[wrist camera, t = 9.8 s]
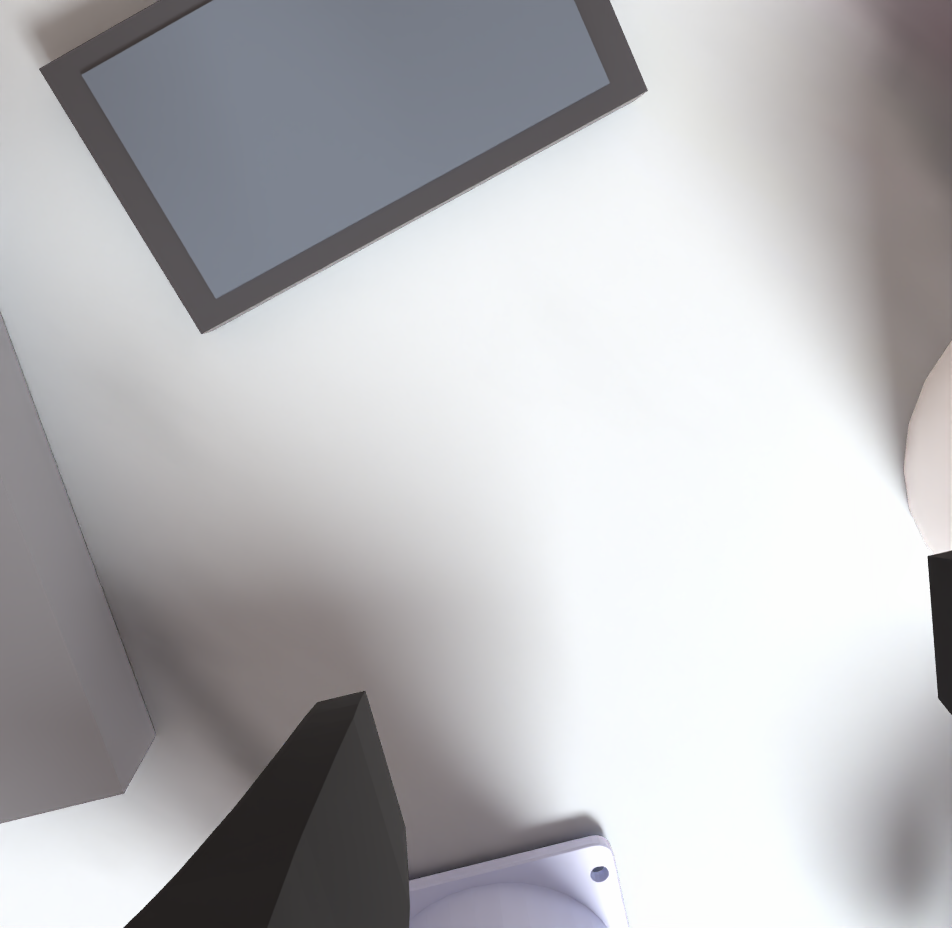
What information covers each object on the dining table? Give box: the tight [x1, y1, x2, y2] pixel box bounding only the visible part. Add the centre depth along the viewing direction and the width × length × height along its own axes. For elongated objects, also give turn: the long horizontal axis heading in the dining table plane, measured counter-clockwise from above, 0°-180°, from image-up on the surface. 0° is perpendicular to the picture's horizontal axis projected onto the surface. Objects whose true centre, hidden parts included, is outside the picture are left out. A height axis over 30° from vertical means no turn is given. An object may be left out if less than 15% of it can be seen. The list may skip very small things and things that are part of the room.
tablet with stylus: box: [39, 0, 648, 334], centre depth 17 cm, size 8×13×1 cm, turn 118°
